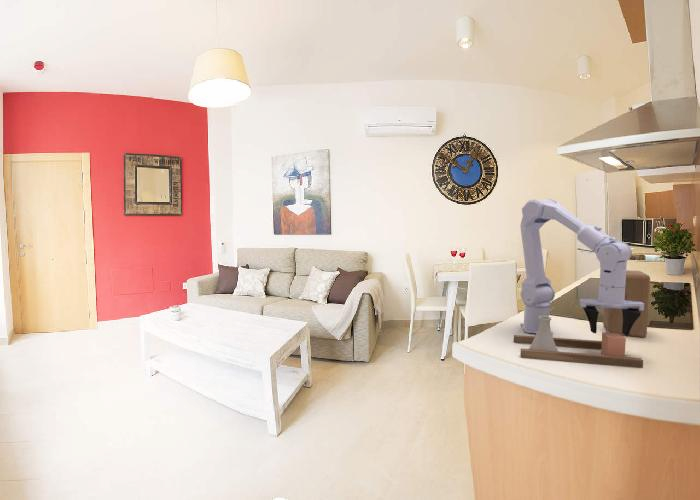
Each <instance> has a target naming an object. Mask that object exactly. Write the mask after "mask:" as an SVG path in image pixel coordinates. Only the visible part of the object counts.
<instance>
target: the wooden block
mask: <svg viewBox="0 0 700 500" xmlns="http://www.w3.org/2000/svg"><path fill="white" fill-rule="evenodd" d="M650 284H651V277H650V275H648V274H647V273H645V272H643V271H641V270H627V269H626V284H625V298H624V300H625V301H635V302H642V303H644V310H639V311H640V312H641V315H640V317H639V318H638V319H637V320H636V321H635V323H634V324H633V326H632V328H631V330H630V333H629V336H630V337H637V338H646V336H647V335H648V321H649V319H648V318H649V305H650V304H649V303H650V302H649V301H650V287H651V285H650ZM602 316H603V317H602V318H603V319H602V320H603V321H602V324H603V327H604V328H605V329H606V331H607V333H619V334H621V335H622V336H625V335H624V334H623V333H622V325H623V314H622V309H618V308H603V315H602ZM629 336H628V337H629Z"/></svg>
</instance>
